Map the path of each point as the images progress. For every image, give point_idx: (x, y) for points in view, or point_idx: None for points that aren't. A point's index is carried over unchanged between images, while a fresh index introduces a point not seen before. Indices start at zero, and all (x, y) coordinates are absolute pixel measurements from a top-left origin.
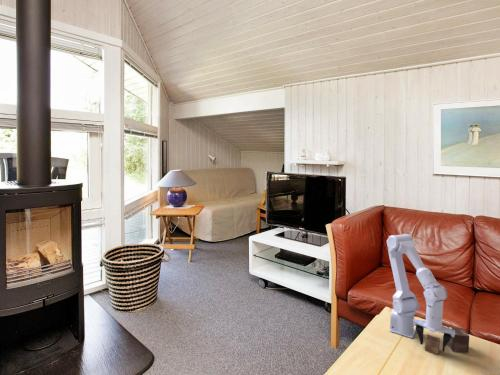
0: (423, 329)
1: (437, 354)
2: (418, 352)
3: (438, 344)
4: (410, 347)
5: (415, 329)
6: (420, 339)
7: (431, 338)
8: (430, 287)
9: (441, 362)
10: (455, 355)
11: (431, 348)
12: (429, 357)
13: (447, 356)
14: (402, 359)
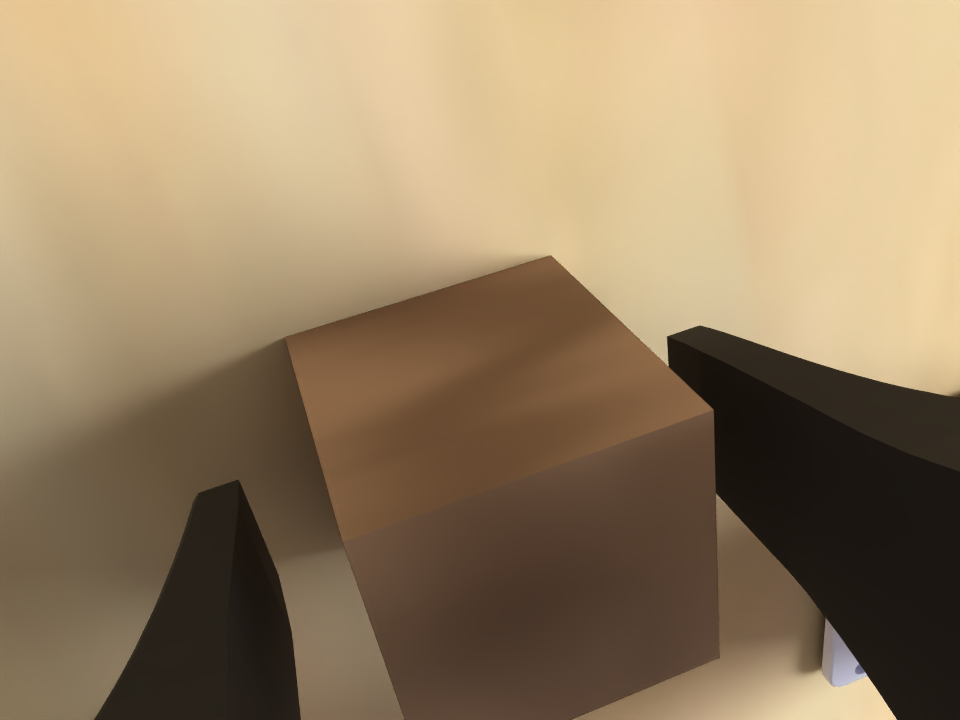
0: (910, 701)
1: (293, 341)
2: (646, 57)
3: (338, 525)
4: (824, 115)
5: (836, 685)
6: (796, 368)
7: (593, 594)
8: None
9: (48, 85)
10: (24, 639)
11: (460, 351)
12: (379, 59)
13: (111, 470)
14: None
